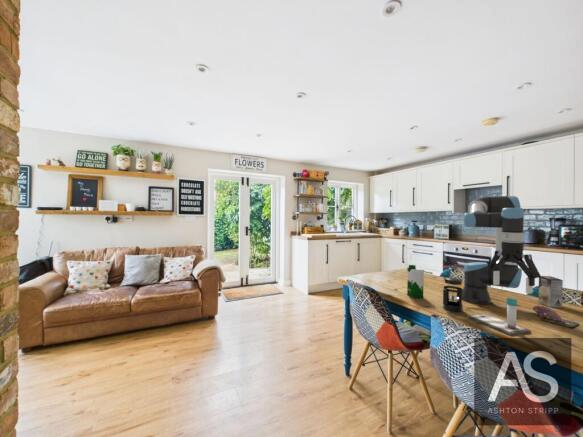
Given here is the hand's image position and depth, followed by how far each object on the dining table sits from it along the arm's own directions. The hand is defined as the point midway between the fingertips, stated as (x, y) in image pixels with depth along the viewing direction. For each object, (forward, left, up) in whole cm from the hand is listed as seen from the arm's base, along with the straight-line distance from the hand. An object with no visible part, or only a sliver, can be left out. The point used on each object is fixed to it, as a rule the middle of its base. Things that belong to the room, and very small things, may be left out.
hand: (511, 288), depth 113 cm
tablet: (-6, -1, -19) cm, 20 cm away
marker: (+1, -1, -17) cm, 17 cm away
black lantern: (-27, -5, -19) cm, 33 cm away
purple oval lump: (-7, +33, -19) cm, 39 cm away
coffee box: (-21, +59, -19) cm, 66 cm away
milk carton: (-52, -8, -19) cm, 56 cm away
